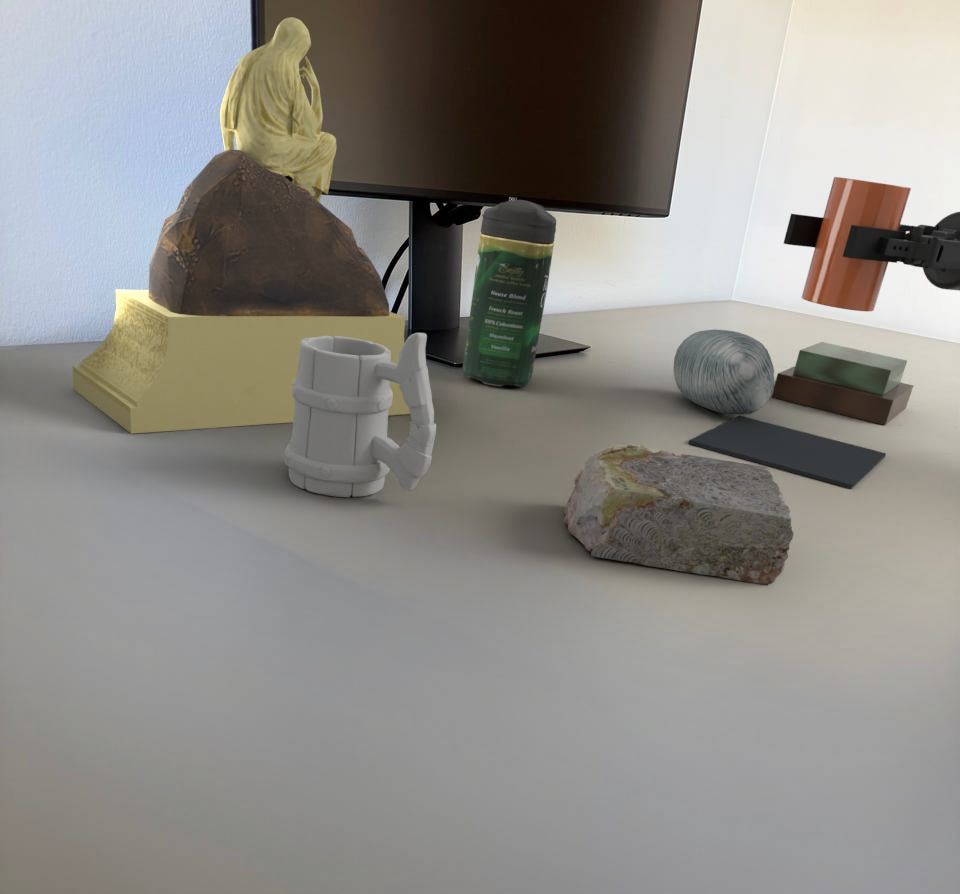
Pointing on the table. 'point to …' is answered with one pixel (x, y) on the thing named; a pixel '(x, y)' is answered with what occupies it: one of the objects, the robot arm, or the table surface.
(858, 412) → the stack
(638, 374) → the table surface
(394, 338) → the hooded thinker statue
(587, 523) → the geological specimen
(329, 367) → the mug
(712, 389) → the grey streaked ovoid
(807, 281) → the canister
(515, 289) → the coffee jar
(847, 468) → the mat
